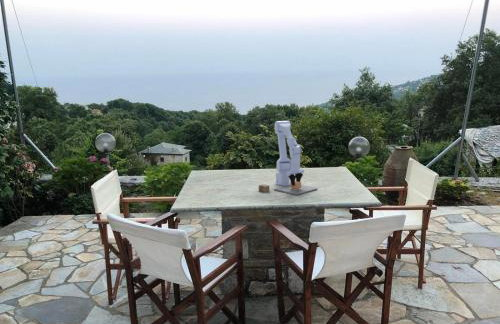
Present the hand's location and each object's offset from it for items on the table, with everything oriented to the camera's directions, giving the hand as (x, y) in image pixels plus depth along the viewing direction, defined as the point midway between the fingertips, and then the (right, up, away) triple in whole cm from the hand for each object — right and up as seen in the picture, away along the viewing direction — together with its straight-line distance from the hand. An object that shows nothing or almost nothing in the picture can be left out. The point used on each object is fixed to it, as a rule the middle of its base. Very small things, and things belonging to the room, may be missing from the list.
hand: (295, 184), depth 256 cm
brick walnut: (-21, -4, 0) cm, 21 cm away
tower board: (0, -3, +1) cm, 3 cm away
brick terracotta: (0, -2, 0) cm, 2 cm away
